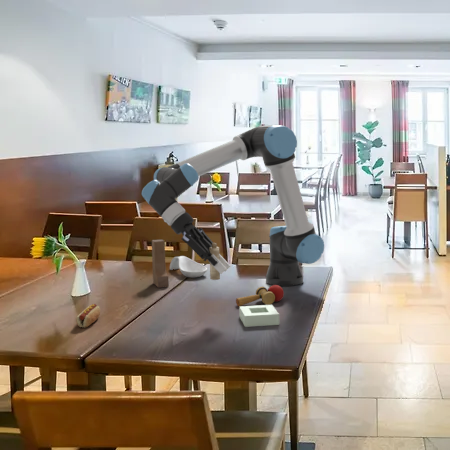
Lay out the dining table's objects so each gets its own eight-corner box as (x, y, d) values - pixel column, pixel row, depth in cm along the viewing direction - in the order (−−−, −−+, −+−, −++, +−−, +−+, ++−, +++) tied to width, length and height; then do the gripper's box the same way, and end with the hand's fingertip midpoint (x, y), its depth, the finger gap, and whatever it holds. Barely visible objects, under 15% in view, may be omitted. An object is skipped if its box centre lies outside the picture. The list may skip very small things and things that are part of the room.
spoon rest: (212, 277, 263) (212, 260, 262) (188, 281, 257) (188, 264, 256) (184, 268, 283) (184, 252, 282) (161, 271, 276) (161, 255, 275)
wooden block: (168, 287, 246) (167, 242, 244) (157, 288, 245) (156, 243, 242) (163, 282, 255) (162, 239, 252) (153, 283, 253) (151, 240, 251)
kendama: (244, 313, 213) (289, 299, 220) (240, 295, 213) (285, 282, 220) (235, 311, 220) (279, 298, 227) (231, 294, 220) (276, 281, 227)
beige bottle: (219, 277, 207) (218, 242, 205) (220, 279, 204) (219, 243, 202) (209, 277, 207) (208, 242, 205) (210, 280, 203) (209, 244, 202)
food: (87, 316, 209) (86, 302, 208) (103, 316, 208) (102, 302, 207) (73, 329, 195) (72, 314, 194) (90, 329, 194) (89, 314, 194)
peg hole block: (269, 310, 211) (268, 300, 210) (279, 324, 195) (279, 314, 195) (237, 312, 209) (237, 302, 209) (244, 326, 194) (244, 316, 193)
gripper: (181, 223, 216) (227, 272, 212) (160, 230, 201) (209, 283, 197) (194, 208, 213) (241, 257, 210) (174, 214, 198) (224, 267, 195)
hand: (225, 270), depth 203 cm, fingers closed on beige bottle, 3 cm apart
